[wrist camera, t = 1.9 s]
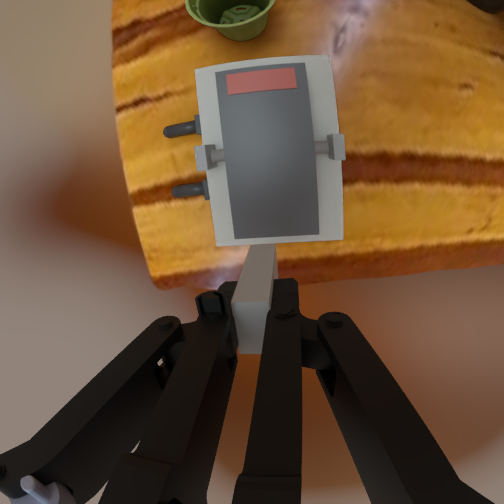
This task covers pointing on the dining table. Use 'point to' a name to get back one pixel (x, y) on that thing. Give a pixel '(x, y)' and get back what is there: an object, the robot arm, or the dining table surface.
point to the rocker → (269, 150)
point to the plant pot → (232, 16)
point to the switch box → (216, 172)
